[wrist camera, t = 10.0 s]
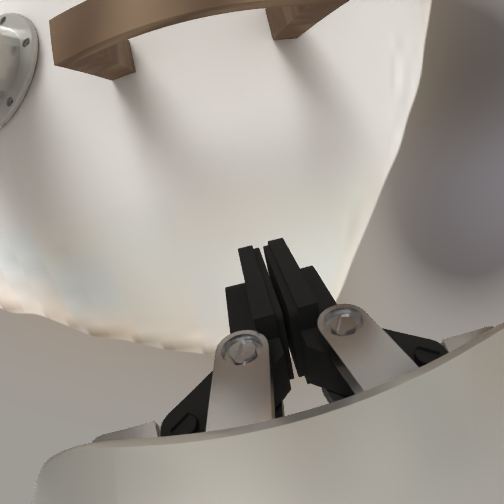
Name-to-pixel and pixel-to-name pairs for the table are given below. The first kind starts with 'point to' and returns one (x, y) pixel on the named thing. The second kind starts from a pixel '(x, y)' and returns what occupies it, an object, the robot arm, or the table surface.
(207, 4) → the bridge
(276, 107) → the table surface
